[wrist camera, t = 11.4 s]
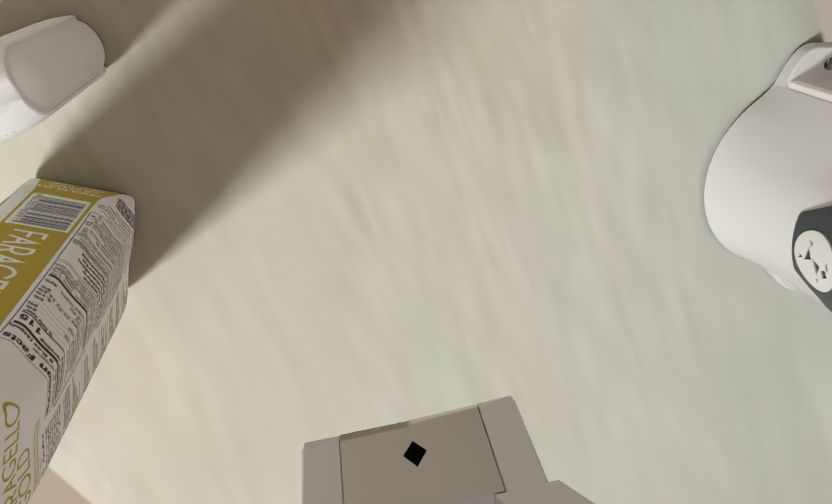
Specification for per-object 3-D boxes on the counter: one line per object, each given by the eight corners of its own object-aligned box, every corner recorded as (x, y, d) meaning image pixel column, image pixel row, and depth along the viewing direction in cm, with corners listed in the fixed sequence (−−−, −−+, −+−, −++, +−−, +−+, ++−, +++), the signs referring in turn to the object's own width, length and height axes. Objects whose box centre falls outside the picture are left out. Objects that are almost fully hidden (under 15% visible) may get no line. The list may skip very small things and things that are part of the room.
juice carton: (18, 159, 44) (-277, 404, 22) (149, 184, 45) (-7, 433, 24) (16, 287, 47) (-237, 600, 26) (137, 305, 49) (-7, 613, 28)
